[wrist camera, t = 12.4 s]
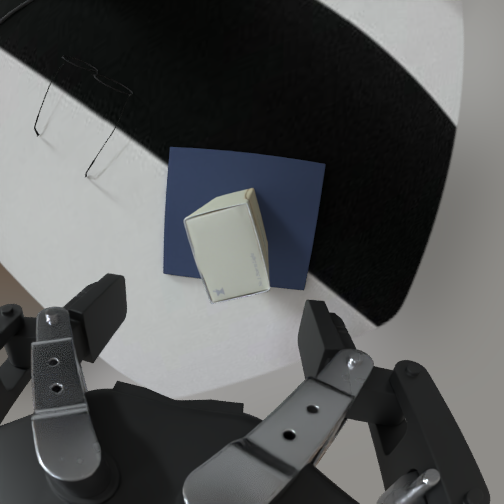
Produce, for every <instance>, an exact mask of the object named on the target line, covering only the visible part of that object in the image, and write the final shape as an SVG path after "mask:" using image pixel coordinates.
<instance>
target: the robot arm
mask: <svg viewBox="0 0 504 504" xmlns="http://www.w3.org/2000/svg"><path fill="white" fill-rule="evenodd" d="M32 1H34V0H28V1H26V2H24V3H23V4H21V5H19V6H18V7H16V8H15V9H13V10H12V11H11V12H9V13H8V14H7V15H6V16H4V17H3V18H2V19H1V20H0V24H1V23H2V22H3V21H5V20H6V19H7V18H8V17H10V16H11V15H12V14H13V13H15V12H16V11H18V10H19V9H21V8H23V7H24V6H26V5H28V4H29V3H31V2H32ZM126 313H127V302H126V287H125V278H124V276H121V275H115V274H109V273H108V274H106V275H105V276H104V277H103V278H101V279H100V280H99V281H98V282H95V283H93V284H90V285H88V286H87V287H85V288H84V289H83V290H82V291H81V292H80V293H78V294H77V296H75V297H74V298H73V299H72V300H71V301H69V302H68V303H67V304H66V305H65V306H64V307H63V308H62V307H49V308H46V309H44V310H42V311H40V312H39V314H38V315H37V318H33V317H24V315H23V311H22V308H21V307H20V306H19V305H17V304H7V305H4V306H1V307H0V350H1V349H2V348H3V347H5V350H6V352H7V355H8V358H7V360H6V361H5V362H4V363H3V364H2V365H1V367H0V424H1V422H2V421H3V419H4V417H5V416H6V414H7V413H8V411H9V410H10V408H11V407H12V405H13V404H14V402H15V401H16V399H17V398H18V396H19V395H20V394H21V392H22V391H23V389H24V388H25V386H26V385H27V384H28V382H29V381H30V379H31V378H32V394H33V406H34V413H33V414H31V415H28V416H26V417H23V418H21V419H18V420H15V421H13V422H10V423H7V424H4V425H2V426H0V504H359V503H358V502H357V501H356V500H354V499H353V498H352V497H350V496H349V495H348V494H347V493H346V492H344V491H343V490H342V489H341V488H339V487H338V486H337V485H336V484H335V483H333V482H332V481H331V480H330V479H329V478H327V477H326V476H325V475H324V474H323V473H322V472H320V471H319V470H318V469H317V468H316V465H317V464H318V462H319V461H320V460H321V458H322V457H323V455H324V454H325V452H326V451H327V449H328V448H329V446H330V445H331V444H332V442H333V441H334V439H335V438H336V436H337V435H338V433H339V432H340V430H341V429H342V427H343V426H344V424H345V423H346V421H347V419H353V420H358V421H363V422H368V425H369V428H370V432H371V436H372V439H373V443H374V447H375V451H376V455H377V459H378V463H379V466H380V471H381V475H382V479H383V483H384V488H385V492H384V493H383V494H382V495H381V496H380V497H379V499H378V501H377V504H490V494H489V491H488V488H487V486H486V484H485V481H484V479H483V477H482V474H481V472H480V470H479V468H478V465H477V463H476V461H475V459H474V457H473V455H472V453H471V451H470V449H469V446H468V444H467V443H466V440H465V438H464V436H463V434H462V433H461V431H460V429H459V427H458V425H457V423H456V421H455V419H454V417H453V415H452V414H451V412H450V410H449V408H448V406H447V405H446V403H445V401H444V399H443V397H442V396H441V394H440V392H439V390H438V388H437V387H436V385H435V383H434V382H433V380H432V378H431V377H430V375H429V373H428V372H427V370H426V369H425V368H424V367H423V366H422V365H420V364H419V363H416V362H413V361H409V360H403V361H399V362H398V363H397V364H396V365H395V368H394V370H389V369H384V368H379V367H375V366H374V363H373V360H372V358H371V357H370V356H369V355H368V354H366V353H364V352H362V351H360V350H357V349H356V347H355V345H354V343H353V341H352V339H351V337H350V335H349V334H348V331H347V329H346V328H345V324H344V322H343V320H342V319H341V318H340V317H339V316H337V315H336V314H335V313H329V311H328V308H327V306H326V304H325V302H324V301H317V300H306V303H305V306H304V311H303V315H302V319H301V324H300V328H299V333H298V346H299V351H300V356H301V361H302V366H303V371H304V375H305V380H304V381H303V382H302V383H301V384H300V385H299V386H298V387H297V389H295V391H293V393H292V394H291V395H289V396H288V397H287V398H286V399H285V400H284V401H283V402H282V403H281V404H280V405H279V406H278V407H277V408H276V409H275V410H274V411H273V412H272V413H271V414H270V415H268V416H267V417H266V418H265V419H264V420H261V419H259V418H257V417H254V416H252V415H249V414H246V413H243V406H244V404H243V403H234V402H226V401H218V400H174V399H171V398H168V397H166V396H164V395H161V394H159V393H156V392H154V391H152V390H150V389H147V388H144V387H140V386H136V385H131V384H128V383H124V382H120V381H117V382H116V384H115V386H114V388H113V389H97V390H92V391H88V390H87V387H86V383H85V379H84V375H83V372H82V367H81V364H80V363H81V362H82V360H84V361H87V362H91V363H94V361H95V360H96V358H97V357H98V356H99V354H100V353H101V352H102V350H103V349H104V347H105V346H106V344H107V343H108V342H109V340H110V339H111V337H112V336H113V335H114V333H115V332H116V331H117V329H118V328H119V326H120V325H121V324H122V322H123V321H124V319H125V317H126ZM405 419H406V420H405Z"/></svg>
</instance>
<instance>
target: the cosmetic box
mask: <svg viewBox="0 0 504 504" xmlns="http://www.w3.org/2000/svg"><path fill="white" fill-rule="evenodd" d="M184 225H185V229H186V232H187V236H188V239H189V242H190V246H191V249H192V252H193V256H194V259H195V262H196V265H197V268H198V270H199V273H200V276H201V279H202V282H203V284H204V287H205V290H206V292H207V295H208V298H209V300H210V303H211V304H214V303H219V302H224V301H229V300H234V299H238V298H243V297H248V296H252V295H256V294H259V293H263V292H267V291H269V290H270V281H269V263H268V242H267V238H266V233H265V229H264V225H263V221H262V216H261V213H260V209H259V205H258V201H257V198H256V194H255V190H254V188H251V189H246V190H242V191H238V192H234V193H230V194H226V195H222V196H219V197H216V198H214V199H213V200H211V201H210V202H208V203H207V204H205V205H204V206H203V207H201V208H199V209H198V210H197V211H195V212H194V213H192V214H191V215H189V216H188V217H186V218H185V219H184Z"/></svg>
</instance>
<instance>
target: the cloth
mask: <svg viewBox="0 0 504 504" xmlns="http://www.w3.org/2000/svg"><path fill="white" fill-rule="evenodd" d="M324 171H325V164H322V163H316V162H310V161H304V160H298V159H291V158H284V157H277V156H269V155H261V154H253V153H244V152H234V151H223V150H211V149H197V148H180V147H170V155H169V165H168V177H167V191H166V207H165V227H164V267H163V273H164V274H171V275H178V276H185V277H193V278H201V276H200V273H199V270H198V268H197V265H196V262H195V259H194V256H193V252H192V249H191V246H190V242H189V239H188V236H187V232H186V229H185V225H184V219H185V218H186V217H188V216H189V215H191V214H192V213H194V212H195V211H197V210H198V209H199V208H201V207H203V206H204V205H205V204H207V203H208V202H210V201H211V200H213V199H214V198H216V197H219V196H222V195H226V194H230V193H234V192H238V191H242V190H246V189H251V188H254V190H255V194H256V198H257V201H258V205H259V209H260V213H261V216H262V221H263V225H264V229H265V233H266V238H267V242H268V263H269V281H270V287H277V288H286V289H296V290H304V288H305V283H306V278H307V273H308V268H309V262H310V257H311V252H312V246H313V241H314V235H315V229H316V223H317V217H318V211H319V205H320V198H321V192H322V185H323V178H324Z"/></svg>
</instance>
